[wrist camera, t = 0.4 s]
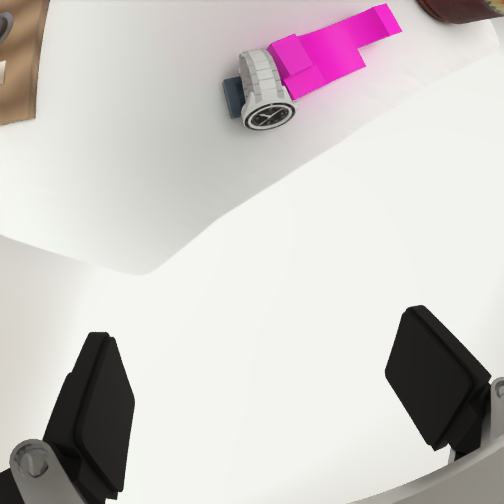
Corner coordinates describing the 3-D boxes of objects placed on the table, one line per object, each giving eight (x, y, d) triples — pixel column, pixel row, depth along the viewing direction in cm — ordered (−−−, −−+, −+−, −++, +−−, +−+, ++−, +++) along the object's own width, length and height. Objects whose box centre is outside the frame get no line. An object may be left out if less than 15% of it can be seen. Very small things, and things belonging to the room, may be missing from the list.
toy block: (284, 102, 34) (303, 97, 27) (258, 58, 32) (271, 43, 25) (380, 59, 33) (412, 50, 26) (357, 19, 30) (386, 3, 24)
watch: (234, 134, 35) (245, 137, 25) (219, 70, 31) (223, 47, 21) (281, 124, 35) (310, 123, 25) (266, 60, 32) (289, 36, 22)
